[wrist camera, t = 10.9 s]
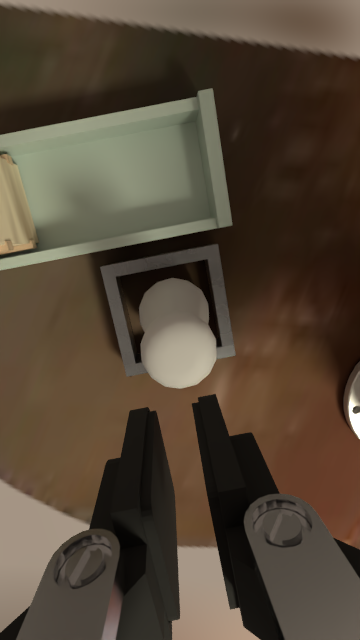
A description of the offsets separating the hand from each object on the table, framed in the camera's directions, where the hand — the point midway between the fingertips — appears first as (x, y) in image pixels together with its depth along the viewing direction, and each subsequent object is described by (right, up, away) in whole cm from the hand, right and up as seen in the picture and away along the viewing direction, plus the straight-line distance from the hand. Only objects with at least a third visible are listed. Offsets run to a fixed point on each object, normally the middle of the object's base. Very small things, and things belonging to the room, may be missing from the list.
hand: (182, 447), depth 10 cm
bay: (-9, +14, +18) cm, 24 cm away
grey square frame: (-1, +5, +20) cm, 21 cm away
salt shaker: (-1, +5, +21) cm, 21 cm away
